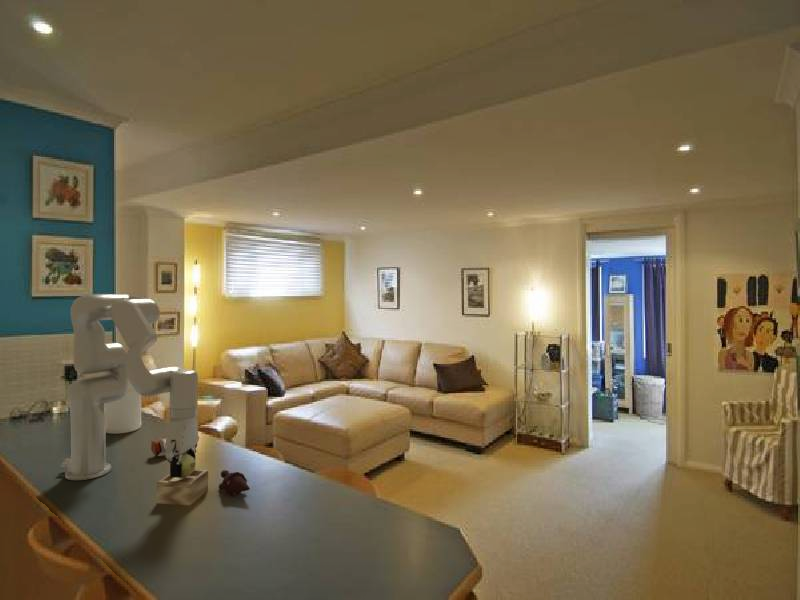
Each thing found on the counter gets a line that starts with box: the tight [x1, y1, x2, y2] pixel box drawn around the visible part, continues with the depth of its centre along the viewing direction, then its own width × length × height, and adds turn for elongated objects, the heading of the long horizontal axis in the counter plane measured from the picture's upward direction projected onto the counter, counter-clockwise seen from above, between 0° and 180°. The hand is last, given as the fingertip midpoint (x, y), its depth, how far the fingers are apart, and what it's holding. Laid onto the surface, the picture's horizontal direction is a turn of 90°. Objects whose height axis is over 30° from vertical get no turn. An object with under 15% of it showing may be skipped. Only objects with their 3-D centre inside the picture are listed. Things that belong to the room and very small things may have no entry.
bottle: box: [103, 379, 142, 435], centre depth 198 cm, size 14×14×28 cm
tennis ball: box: [176, 453, 197, 478], centre depth 136 cm, size 6×7×7 cm
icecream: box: [218, 469, 250, 497], centre depth 138 cm, size 7×7×15 cm
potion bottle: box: [150, 437, 166, 458], centre depth 172 cm, size 9×10×15 cm
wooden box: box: [156, 468, 209, 506], centre depth 136 cm, size 10×10×6 cm
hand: (183, 471), depth 136 cm, fingers closed on tennis ball, 6 cm apart
